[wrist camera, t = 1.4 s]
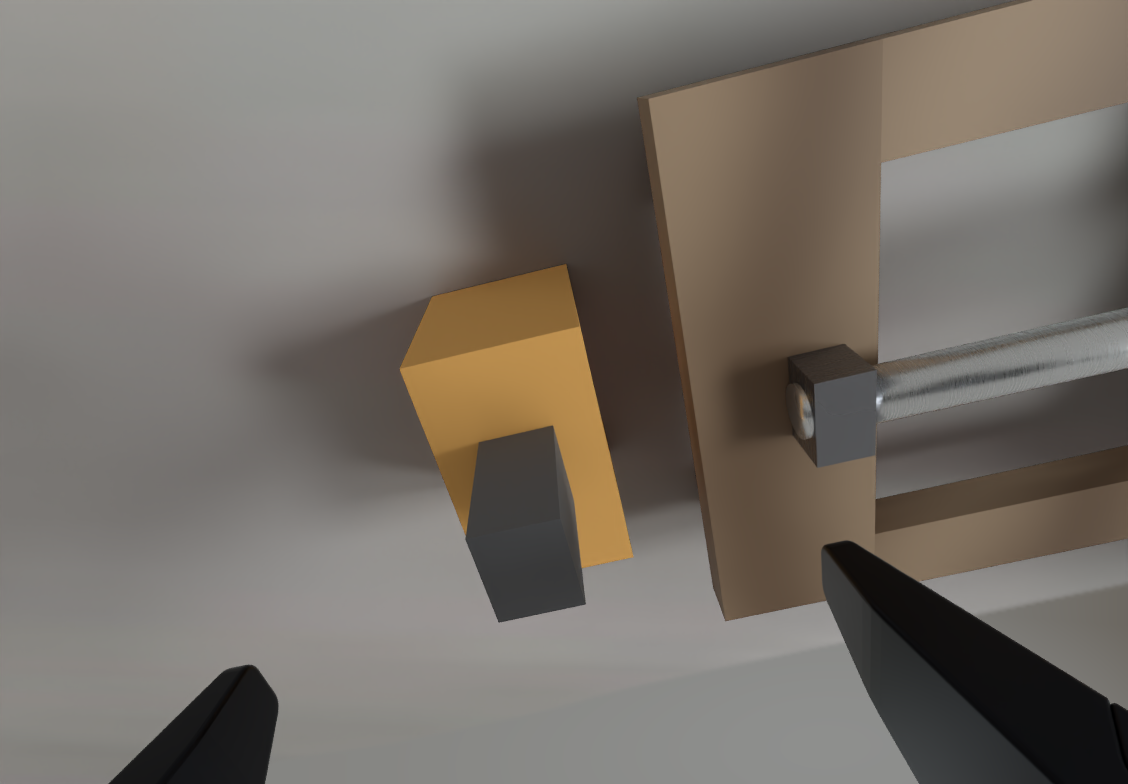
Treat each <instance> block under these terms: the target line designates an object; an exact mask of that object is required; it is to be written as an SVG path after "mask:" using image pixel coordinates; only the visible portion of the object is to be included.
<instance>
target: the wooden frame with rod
mask: <svg viewBox="0 0 1128 784" xmlns="http://www.w3.org/2000/svg"><path fill="white" fill-rule="evenodd" d="M637 101H638V107H639V114H640V120H641V126H642V133H643V139H644V146H645V152H646V159H647V165H648V171H649V178H650V184H651V191H652V197H653V204H654V210H655V216H656V223H657V229H658V236H659V242H660V249H661V255H662V261H663V268H664V274H665V281H666V287H667V294H668V300H669V306H670V313H671V319H672V326H673V332H674V339H675V345H676V351H677V358H678V364H679V371H680V377H681V384H682V390H683V396H684V403H685V409H686V416H687V422H688V429H689V435H690V441H691V448H692V454H693V461H694V467H695V474H696V480H697V486H698V493H699V499H700V506H701V512H702V519H703V525H704V531H705V538H706V544H707V551H708V557H709V564H710V570H711V576H712V583H713V589H714V591H715V594H716V597H717V599H718V602H719V605H720V607H721V610H722V613H723V616H724V618H725V621H729V620H734V619H738V618H743V617H748V616H753V615H758V614H763V613H768V612H773V611H777V610H782V609H787V608H792V607H797V606H802V605H807V604H811V603H816V602H821V601H826V597H825V594H824V591H823V586H822V566H821V550H822V547H823V546H824V545H826V544H830V543H835V542H839V541H844V540H849V541H852V542H855V543H856V544H858V545H860V546H861V547H863V548H864V549H866V550H868V551H869V552H871V553H873V554H874V555H876V556H877V557H879V558H881V559H882V560H884V561H886V562H887V563H889V564H890V565H892V566H894V567H895V568H897V569H899V570H900V571H902V572H903V573H905V574H907V575H908V576H910V577H912V578H913V579H915V580H916V581H918V582H919V581H923V580H928V579H933V578H938V577H943V576H948V575H953V574H957V573H962V572H967V571H972V570H977V569H982V568H987V567H992V566H996V565H1001V564H1006V563H1011V562H1016V561H1021V560H1026V559H1030V558H1035V557H1040V556H1045V555H1050V554H1055V553H1060V552H1065V551H1069V550H1074V549H1079V548H1084V547H1089V546H1094V545H1099V544H1103V543H1108V542H1113V541H1118V540H1123V539H1128V445H1127V446H1122V447H1118V448H1113V449H1108V450H1104V451H1099V452H1094V453H1090V454H1085V455H1080V456H1076V457H1071V458H1066V459H1062V460H1057V461H1052V462H1047V463H1043V464H1038V465H1033V466H1029V467H1024V468H1019V469H1015V470H1010V471H1005V472H1001V473H996V474H991V475H987V476H982V477H977V478H973V479H968V480H963V481H959V482H954V483H949V484H945V485H940V486H935V487H931V488H926V489H921V490H917V491H912V492H907V493H903V494H898V495H893V496H889V497H884V498H879V499H875V496H876V455H875V456H870V457H866V458H861V459H856V460H852V461H847V462H843V463H838V464H833V465H829V466H824V467H820V468H817V467H816V465H815V464H814V463H813V462H812V460H811V459H810V458H809V456H808V455H807V454H806V452H805V451H804V450H803V448H802V447H801V446H800V444H799V443H798V442H797V440H796V439H795V438H794V436H793V433H792V423H791V420H790V417H789V414H788V410H787V405H786V388H787V386H788V385H789V367H788V357H789V356H793V355H798V354H802V353H807V352H811V351H815V350H820V349H824V348H828V347H833V346H837V345H841V344H846V345H847V346H848V347H849V348H851V349H852V350H853V351H854V352H855V353H857V354H858V355H859V356H860V357H862V358H863V359H864V360H865V361H866V362H868V363H869V364H870V365H876V364H878V313H879V253H880V192H881V163H882V162H886V161H890V160H894V159H898V158H902V157H906V156H911V155H915V154H919V153H923V152H927V151H931V150H935V149H939V148H943V147H947V146H951V145H955V144H959V143H964V142H968V141H972V140H976V139H980V138H984V137H988V136H992V135H996V134H1000V133H1004V132H1008V131H1013V130H1017V129H1021V128H1025V127H1029V126H1033V125H1037V124H1041V123H1045V122H1049V121H1053V120H1057V119H1062V118H1066V117H1070V116H1074V115H1078V114H1082V113H1086V112H1090V111H1094V110H1098V109H1102V108H1106V107H1111V106H1115V105H1119V104H1123V103H1127V102H1128V0H1015V1H1012V2H1008V3H1004V4H1000V5H996V6H992V7H988V8H984V9H980V10H977V11H973V12H969V13H965V14H961V15H957V16H953V17H949V18H945V19H942V20H938V21H934V22H930V23H926V24H922V25H918V26H914V27H910V28H906V29H903V30H899V31H895V32H891V33H887V34H883V35H879V36H875V37H871V38H868V39H864V40H860V41H856V42H852V43H848V44H844V45H840V46H836V47H832V48H829V49H825V50H821V51H817V52H813V53H809V54H805V55H801V56H797V57H794V58H790V59H786V60H782V61H778V62H774V63H770V64H766V65H762V66H758V67H755V68H751V69H747V70H743V71H739V72H735V73H731V74H727V75H723V76H720V77H716V78H712V79H708V80H704V81H700V82H696V83H692V84H688V85H685V86H681V87H677V88H673V89H669V90H665V91H661V92H657V93H653V94H649V95H646V96H642V97H638V98H637ZM876 435H877V424H876Z"/></svg>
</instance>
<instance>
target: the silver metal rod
mask: <svg viewBox="0 0 1128 784" xmlns="http://www.w3.org/2000/svg"><path fill="white" fill-rule="evenodd" d="M788 367H789V385H788V386H787V388H786V405H787V410H788V414H789V417H790V420H791V423H792V433H793V436H794V438H795V439H796V440H797V442H798V443H799V444H800V446H801V447H802V448H803V450H804V451H805V452H806V454H807V455H808V456H809V458H810V459H811V460H812V462H813V463H814V464H815V465H816V467H817V468H820V467H824V466H829V465H833V464H838V463H843V462H847V461H852V460H856V459H861V458H866V457H870V456H875V455H876V424H878V423H882V422H887V421H892V420H896V419H901V418H905V417H910V416H914V415H919V414H923V413H928V412H932V411H937V410H941V409H946V408H950V407H955V406H959V405H964V404H969V403H973V402H978V401H982V400H987V399H991V398H996V397H1000V396H1005V395H1009V394H1014V393H1018V392H1023V391H1027V390H1032V389H1036V388H1041V387H1045V386H1050V385H1055V384H1059V383H1064V382H1068V381H1073V380H1077V379H1082V378H1086V377H1091V376H1095V375H1100V374H1104V373H1109V372H1113V371H1118V370H1122V369H1127V368H1128V307H1127V308H1123V309H1119V310H1114V311H1110V312H1105V313H1101V314H1096V315H1092V316H1088V317H1083V318H1079V319H1074V320H1070V321H1066V322H1061V323H1057V324H1052V325H1048V326H1043V327H1039V328H1035V329H1030V330H1026V331H1021V332H1017V333H1013V334H1008V335H1004V336H999V337H995V338H990V339H986V340H982V341H977V342H973V343H968V344H964V345H960V346H955V347H951V348H946V349H942V350H937V351H933V352H929V353H924V354H920V355H915V356H911V357H907V358H902V359H898V360H893V361H889V362H884V363H880V364H876V365H870V364H869V363H868V362H866V361H865V360H864V359H863V358H862V357H860V356H859V355H858V354H857V353H855V352H854V351H853V350H852V349H851V348H849V347H848V346H847V345H846V344H841V345H837V346H833V347H828V348H824V349H820V350H815V351H811V352H807V353H802V354H798V355H793V356H789V357H788Z"/></svg>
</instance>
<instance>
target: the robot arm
mask: <svg viewBox="0 0 1128 784" xmlns="http://www.w3.org/2000/svg"><path fill="white" fill-rule="evenodd" d="M821 566H822V586H823V591H824V594H825V597H826V600H827V602H828V605H829V607H830V609H831V611H832V614H833V616H834V618H835V620H836V623H837V625H838V627H839V629H840V632H841V634H842V636H843V638H844V641H845V643H846V645H847V647H848V649H849V651H850V654H851V656H852V659H853V661H854V663H855V665H856V668H857V670H858V672H859V674H860V677H861V679H862V681H863V683H864V686H865V688H866V690H867V692H868V694H869V696H870V698H871V700H872V702H873V704H874V706H875V708H876V709H877V711H878V713H879V715H880V717H881V718H882V720H883V722H884V724H885V725H886V727H887V729H888V731H889V732H890V734H891V736H892V737H893V739H894V741H895V743H896V745H897V746H898V748H899V750H900V751H901V753H902V755H903V757H904V758H905V760H906V762H907V764H908V765H909V767H910V769H911V771H912V772H913V774H914V776H915V778H916V779H917V781H918V783H919V784H1128V710H1126V709H1125V708H1123V707H1122V706H1120V705H1118V704H1116V703H1112V704H1110V702H1109V700H1108V698H1106V697H1105V696H1103V695H1102V694H1100V693H1098V692H1097V691H1095V690H1093V689H1092V688H1090V687H1088V686H1087V685H1085V684H1084V683H1082V682H1080V681H1079V680H1077V679H1075V678H1074V677H1072V676H1071V675H1069V674H1067V673H1066V672H1064V671H1063V670H1061V669H1059V668H1058V667H1056V666H1054V665H1053V664H1051V663H1049V662H1048V661H1046V660H1045V659H1043V658H1041V657H1040V656H1038V655H1037V654H1035V653H1033V652H1032V651H1030V650H1028V649H1027V648H1025V647H1024V646H1022V645H1020V644H1019V643H1017V642H1015V641H1014V640H1012V639H1010V638H1009V637H1007V636H1006V635H1004V634H1002V633H1001V632H999V631H998V630H996V629H994V628H993V627H991V626H990V625H988V624H986V623H985V622H983V621H981V620H980V619H978V618H977V617H975V616H973V615H972V614H970V613H968V612H967V611H965V610H964V609H962V608H960V607H959V606H957V605H955V604H954V603H952V602H951V601H949V600H947V599H946V598H944V597H942V596H941V595H939V594H938V593H936V592H934V591H933V590H931V589H929V588H928V587H926V586H925V585H923V584H921V583H920V582H918V581H916V580H915V579H913V578H912V577H910V576H908V575H907V574H905V573H903V572H902V571H900V570H899V569H897V568H895V567H894V566H892V565H890V564H889V563H887V562H886V561H884V560H882V559H881V558H879V557H877V556H876V555H874V554H873V553H871V552H869V551H868V550H866V549H864V548H863V547H861V546H860V545H858V544H856V543H855V542H852V541H849V540H844V541H839V542H835V543H830V544H826V545H824V546H823V547H822V550H821ZM277 716H278V699H277V696H276V694H275V693H274V691H273V690H272V688H271V687H270V685H269V684H268V683H267V681H266V680H265V678H264V677H263V676H262V674H261V673H260V671H259V670H258V669H257V668H256V667H255V666H253V665H243V666H239V667H234V668H229V669H227V670H225V671H223V672H222V673H221V674H220V675H219V676H218V677H217V678H216V679H215V680H214V681H213V682H212V683H211V684H210V685H209V686H208V687H207V688H206V689H205V690H204V691H203V692H202V693H200V694H199V695H198V696H197V697H196V698H195V699H194V700H193V701H192V702H191V703H190V704H189V705H188V706H187V707H186V708H185V709H184V710H183V711H182V712H181V713H180V714H179V715H178V716H177V717H176V718H175V719H174V720H173V721H172V722H171V723H170V724H169V725H168V726H167V727H166V728H165V729H164V730H163V731H162V732H161V733H160V734H159V735H158V736H157V737H156V738H155V739H154V740H153V741H152V742H151V743H149V744H148V745H147V746H146V747H145V748H144V749H143V750H142V751H141V752H140V753H139V754H138V755H137V756H136V757H135V758H134V759H133V760H132V761H131V762H130V763H129V764H128V765H127V766H126V767H125V768H124V769H123V770H122V771H121V772H120V773H119V774H118V775H117V776H116V777H115V778H114V779H113V780H112V781H111V782H110V783H109V784H265V780H266V775H267V770H268V764H269V759H270V754H271V748H272V743H273V737H274V732H275V727H276V721H277Z"/></svg>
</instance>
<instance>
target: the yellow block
mask: <svg viewBox="0 0 1128 784" xmlns="http://www.w3.org/2000/svg"><path fill="white" fill-rule="evenodd" d="M400 372H401V374H402V377H403V379H404V382H405V384H406V387H407V389H408V392H409V394H410V397H411V399H412V402H413V404H414V407H415V409H416V412H417V414H418V417H419V419H420V422H421V424H422V427H423V430H424V432H425V435H426V437H427V440H428V442H429V445H430V447H431V450H432V452H433V455H434V457H435V460H436V462H437V465H438V467H439V470H440V472H441V475H442V477H443V480H444V482H445V485H446V487H447V490H448V492H449V495H450V497H451V500H452V502H453V505H454V507H455V510H456V512H457V515H458V517H459V520H460V522H461V525H462V527H463V530H464V532H465V535H466V542H467V544H468V547H469V549H470V552H471V554H472V557H473V559H474V562H475V564H476V567H477V569H478V572H479V574H480V577H481V579H482V582H483V584H484V587H485V589H486V592H487V594H488V597H489V599H490V602H491V604H492V607H493V609H494V612H495V614H496V617H497V619H498V622H504V621H509V620H514V619H518V618H523V617H528V616H533V615H537V614H542V613H547V612H552V611H556V610H561V609H566V608H571V607H576V606H580V605H585V604H586V603H585V594H584V585H583V576H582V568H585V567H590V566H594V565H599V564H604V563H608V562H613V561H618V560H622V559H627V558H632V557H633V553H632V548H631V544H630V539H629V535H628V531H627V526H626V522H625V517H624V513H623V508H622V504H621V499H620V495H619V490H618V486H617V481H616V477H615V473H614V468H613V464H612V459H611V455H610V450H609V446H608V442H607V437H606V433H605V429H604V425H603V420H602V419H601V415H600V410H599V406H598V402H597V397H596V393H595V389H594V385H593V380H592V376H591V372H590V367H589V363H588V359H587V354H586V350H585V345H584V340H583V336H582V331H581V327H580V322H579V318H578V313H577V308H576V304H575V300H574V295H573V291H572V287H571V283H570V278H569V274H568V270H567V265H566V264H564V265H560V266H556V267H551V268H547V269H543V270H539V271H535V272H531V273H527V274H523V275H518V276H514V277H510V278H506V279H502V280H498V281H494V282H490V283H486V284H481V285H477V286H473V287H469V288H465V289H461V290H457V291H453V292H448V293H444V294H440V295H436V296H432V298H431V300H430V302H429V305H428V307H427V309H426V311H425V313H424V316H423V318H422V320H421V322H420V325H419V327H418V329H417V331H416V333H415V336H414V338H413V340H412V342H411V344H410V347H409V349H408V351H407V353H406V355H405V358H404V360H403V362H402V364H401V367H400Z"/></svg>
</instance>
